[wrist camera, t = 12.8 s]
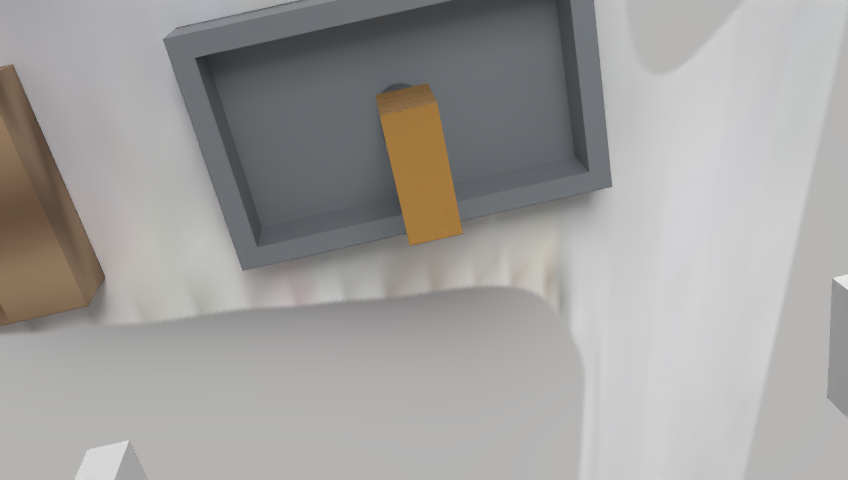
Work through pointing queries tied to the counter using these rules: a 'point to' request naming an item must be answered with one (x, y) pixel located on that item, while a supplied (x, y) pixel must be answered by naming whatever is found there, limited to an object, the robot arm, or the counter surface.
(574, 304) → the counter surface
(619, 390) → the counter surface
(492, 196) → the parts tray
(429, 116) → the tall wooden block
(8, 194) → the block
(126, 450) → the robot arm
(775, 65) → the counter surface
